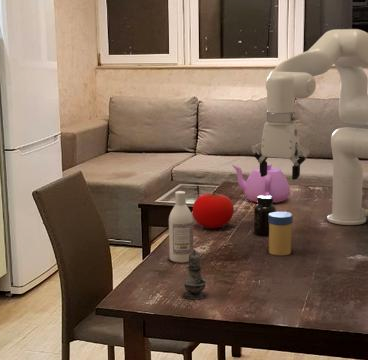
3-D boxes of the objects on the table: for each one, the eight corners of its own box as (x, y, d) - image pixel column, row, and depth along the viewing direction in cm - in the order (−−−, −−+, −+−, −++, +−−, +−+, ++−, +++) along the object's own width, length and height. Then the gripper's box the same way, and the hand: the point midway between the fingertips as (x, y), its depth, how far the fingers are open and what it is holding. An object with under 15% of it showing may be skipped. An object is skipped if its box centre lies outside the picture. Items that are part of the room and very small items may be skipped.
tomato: (191, 222, 255) (191, 188, 253) (231, 221, 254) (231, 187, 252) (193, 232, 242) (193, 197, 240) (235, 231, 242) (235, 196, 239)
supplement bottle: (275, 236, 235) (275, 199, 232) (253, 236, 236) (253, 199, 234) (275, 230, 241) (276, 194, 239) (254, 230, 243) (254, 194, 240)
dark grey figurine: (181, 291, 189) (180, 246, 187) (204, 290, 189) (203, 245, 187) (185, 300, 183) (184, 253, 181) (208, 298, 184) (208, 252, 181)
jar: (289, 248, 222) (289, 213, 220) (292, 255, 216) (293, 218, 213) (267, 249, 222) (267, 213, 220) (270, 255, 216) (270, 219, 214)
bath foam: (198, 260, 213) (197, 192, 209) (177, 264, 210) (175, 195, 206) (185, 254, 219) (184, 188, 215) (165, 258, 216) (163, 191, 212)
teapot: (231, 193, 295) (231, 159, 293) (287, 193, 292) (288, 158, 290) (231, 206, 274) (231, 170, 271) (291, 206, 271) (292, 169, 268)
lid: (290, 218, 220) (290, 211, 220) (294, 224, 213) (294, 217, 213) (266, 219, 221) (267, 211, 220) (269, 225, 214) (269, 217, 213)
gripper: (314, 118, 209) (313, 177, 213) (257, 115, 219) (257, 172, 222) (304, 121, 203) (303, 182, 207) (246, 118, 213) (246, 177, 216)
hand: (279, 177), depth 214 cm, fingers open, 9 cm apart
